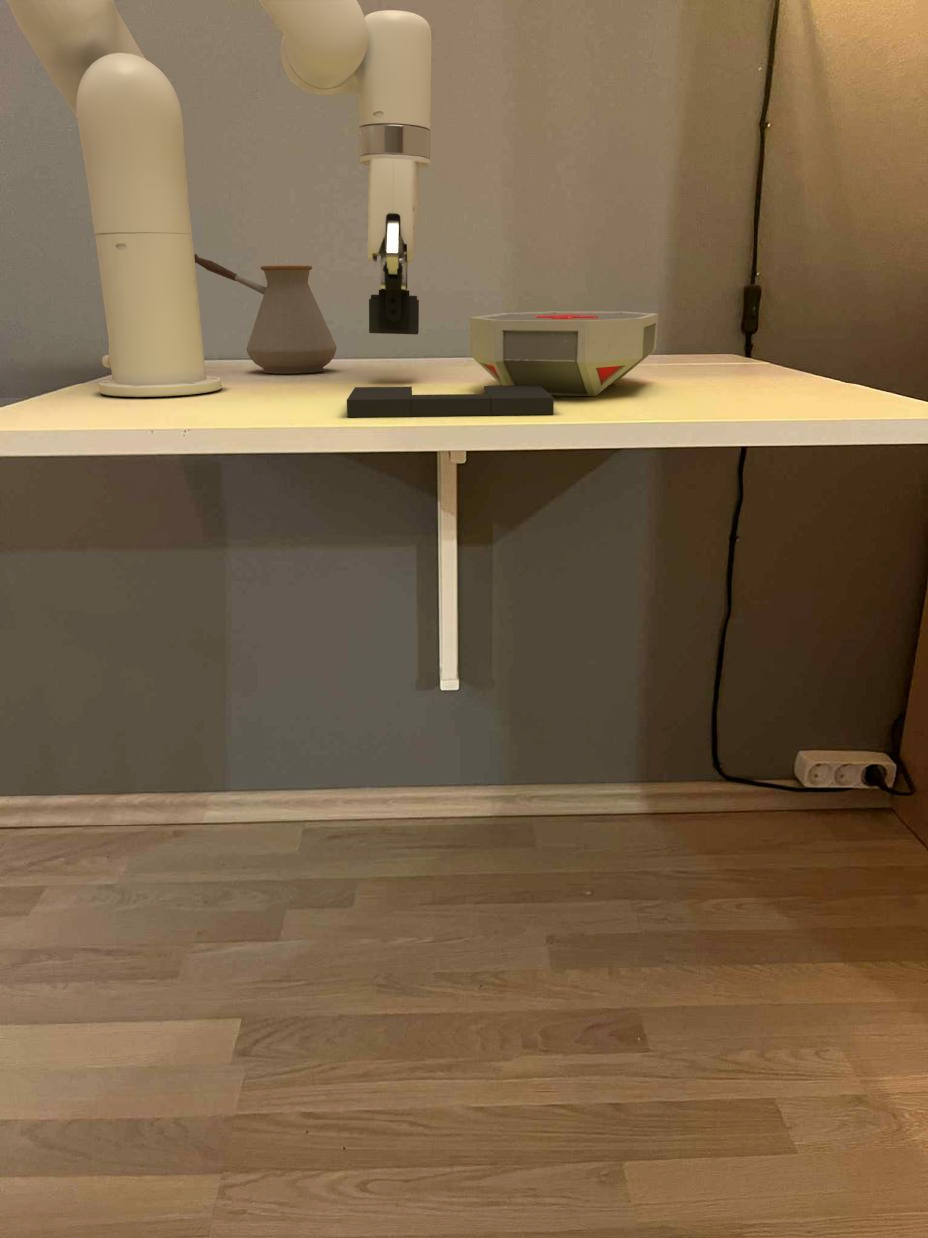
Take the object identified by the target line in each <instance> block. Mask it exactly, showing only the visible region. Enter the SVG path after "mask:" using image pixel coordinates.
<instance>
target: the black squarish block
mask: <svg viewBox="0 0 928 1238" xmlns="http://www.w3.org/2000/svg"><path fill="white" fill-rule="evenodd" d="M419 322H420V299H419V298H418V295H410V294H409V295H408V328H407V329H381V328H380V327H379V294H371V295H370V298H369V299H368V333H369V334H386V335H387V334H388V335H419V326H420V323H419Z"/></svg>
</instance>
